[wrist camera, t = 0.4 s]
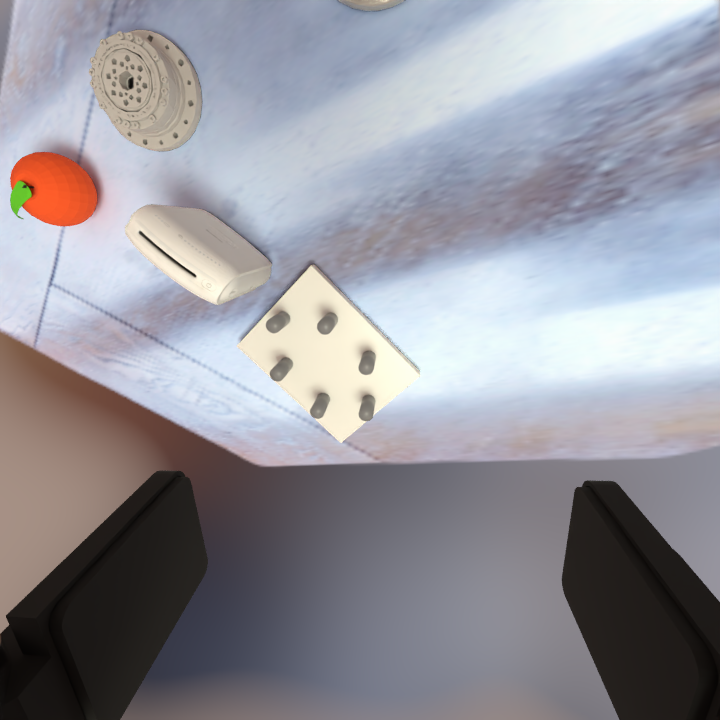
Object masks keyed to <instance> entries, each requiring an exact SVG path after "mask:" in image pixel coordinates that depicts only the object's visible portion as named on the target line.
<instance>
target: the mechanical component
mask: <svg viewBox="0 0 720 720" xmlns="http://www.w3.org/2000/svg"><path fill="white" fill-rule="evenodd" d="M90 62H91V63H92V69H89V74H90V75H91V76H92V80H91V82H90V85H91V86H92V87H93V88H94V92H95V95H96V97H97V100H98V102H99V106H100V108H101V109H104V111H105V112H106V113H107V115H108V116H109V118H110V120H111V122H112V123H113V125H114V126H115V127H116V128H117V130H118V131H119V132H120V133H121V134H122V135H123V136H124V137H125V138H126V139H128V140H129V141H131V142H132V143H134V144H136V145H138V146H141V147H143V148H146V149H149V150H154V151H170V150H173V149H175V148H178V147H180V146H181V145H182V144H184V143H185V142H186V141H187V140H189V139H190V137H191V136H192V135H193V133H194V132H195V130H196V127H197V125H198V122H199V120H200V115H201V107H202V96H201V87H200V84H199V80H198V77H197V74H196V71H195V70H194V68H193V66H192V65H191V63H190V61H189V60H188V58H187V57H186V56H185V55H184V53H183V52H182V51H181V50H180V49H179V48H178V47H177V46H176V45H174V44H173V43H172V42H171V41H169V40H167V39H166V38H164V37H163V36H161V35H160V34H157V33H154V32H151V31H147V30H134V31H131V32H128V33H122V32H120V31H118V33H117V34H115V35H112V36H110V37H108V38H107V39H105V40H103V39H101V40H100V46H99V48H98V49H97V51H96V54H95V57H92V58H91V59H90Z"/></svg>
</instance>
